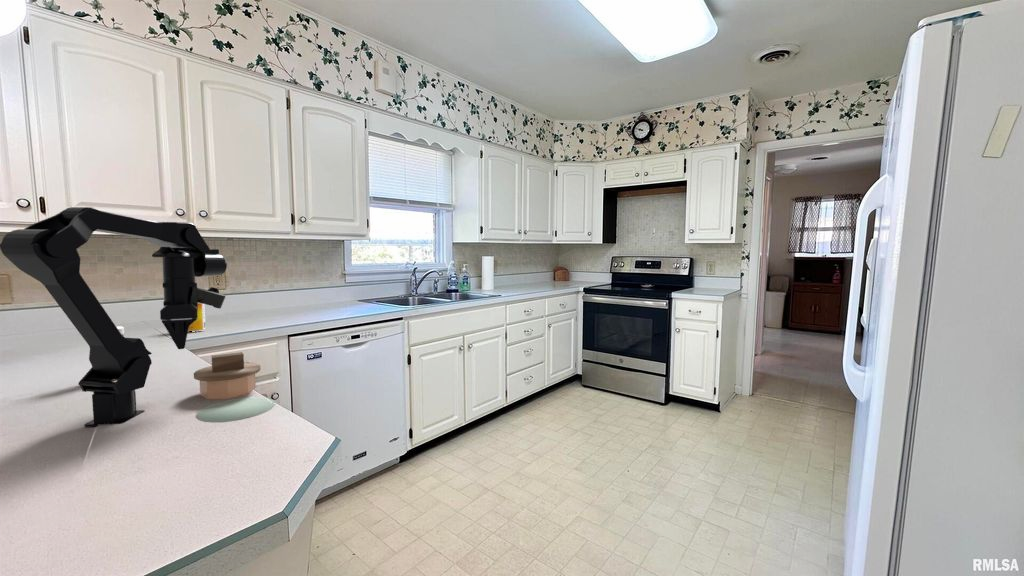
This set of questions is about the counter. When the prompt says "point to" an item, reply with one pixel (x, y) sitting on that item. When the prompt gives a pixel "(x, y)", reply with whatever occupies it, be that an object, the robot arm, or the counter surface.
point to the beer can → (199, 319)
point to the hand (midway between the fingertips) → (181, 345)
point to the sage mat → (235, 409)
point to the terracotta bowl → (227, 388)
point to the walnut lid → (227, 368)
